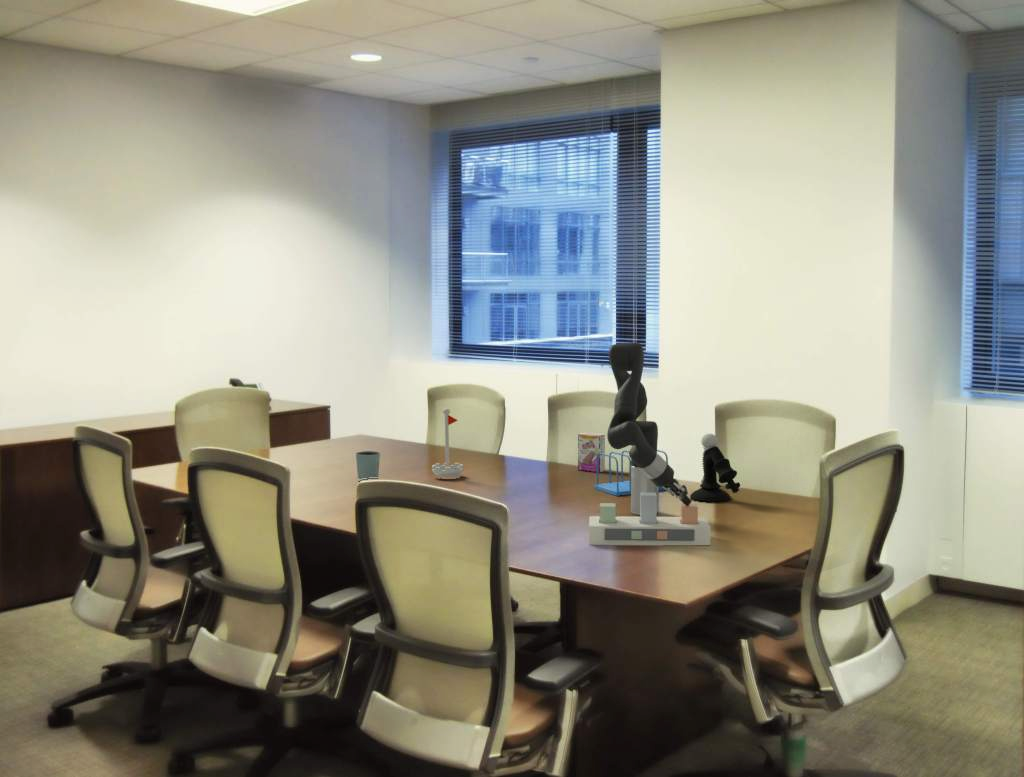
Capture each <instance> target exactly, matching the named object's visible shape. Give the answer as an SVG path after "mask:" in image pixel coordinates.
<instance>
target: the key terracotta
mask: <svg viewBox="0 0 1024 777" xmlns="http://www.w3.org/2000/svg"><path fill="white" fill-rule="evenodd" d="M680 517H681V524H698V517H699V507H698V504H697V503H690V504H689V506H687V505H684V504H683V503H680Z"/></svg>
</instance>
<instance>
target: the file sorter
mask: <svg viewBox="0 0 1024 777" xmlns="http://www.w3.org/2000/svg"><path fill="white" fill-rule="evenodd" d="M629 451H630V450H624V449H623V451H621V453H619V452H617V451H611V452H609V454H606V453H605V454H603V453H598V454H597V457H596V467H597V472H596V484H594V490H598V491H601V492H605V493H607V494H610V495H613V496H615V497H620V495H622V496H626V495H627V496H628V495H631V458H630V456H629V455H628V454H629ZM624 453H627V454H624ZM657 453H662V454H664V456H665V461H666V463H667V464H668V465H669V460H668V459H669V458H668V454H667V453H666V452H665V451H664V450H659V449H657ZM599 454H600V455H604V456H605V457H608V471H609V472H608V477H609V480H608V483H600V482H599V481H600V480H599V472H598V456H599ZM612 454H613V455H612ZM614 454H615V455H619V456H620V463H621V464H620V466H621V467H620V471H621V472H620V473H621V476H620V477H621V478H620V479H621V480H620V481H619V462H618V459H617V457H616V456H614ZM624 457H627V459H628V461H629V468H628V469H629V480H624V461H623V460H624ZM611 458H612V459H614V460H615V463H616V482H615V481H614V482H612V478H611V476H612V474H611V473H612V464H611V460H612V459H611ZM659 491H665V490H664V489H663V488H662V487H659Z"/></svg>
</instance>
